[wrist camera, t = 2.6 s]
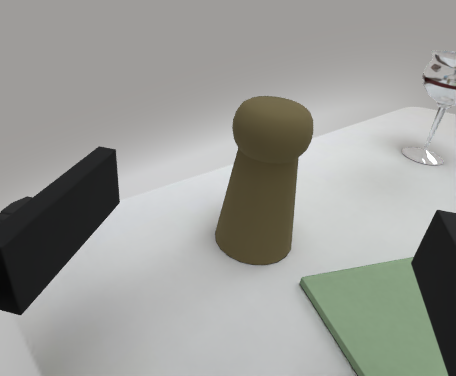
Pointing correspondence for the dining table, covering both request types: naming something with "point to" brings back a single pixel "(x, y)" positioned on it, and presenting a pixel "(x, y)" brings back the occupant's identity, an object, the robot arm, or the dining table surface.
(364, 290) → the sage mat
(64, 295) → the dining table surface
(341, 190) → the dining table surface
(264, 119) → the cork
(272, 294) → the dining table surface
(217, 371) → the dining table surface
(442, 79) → the wineglass
